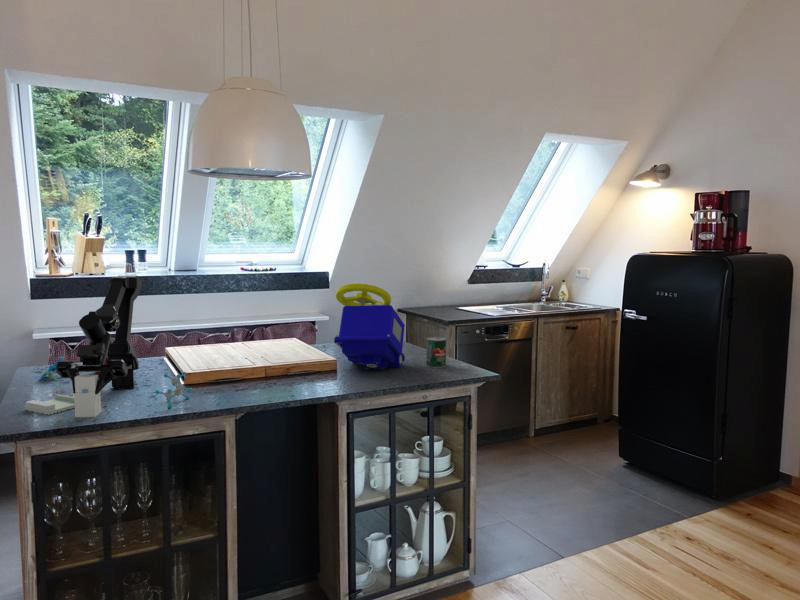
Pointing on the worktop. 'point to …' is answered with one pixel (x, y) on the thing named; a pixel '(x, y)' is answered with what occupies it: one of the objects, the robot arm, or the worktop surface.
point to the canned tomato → (436, 352)
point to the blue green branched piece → (51, 368)
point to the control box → (370, 328)
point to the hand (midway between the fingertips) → (85, 393)
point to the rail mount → (51, 404)
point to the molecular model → (177, 391)
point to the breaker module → (86, 396)
